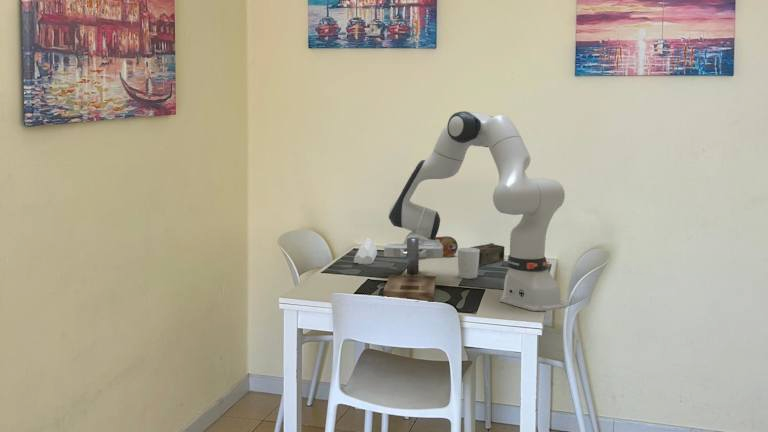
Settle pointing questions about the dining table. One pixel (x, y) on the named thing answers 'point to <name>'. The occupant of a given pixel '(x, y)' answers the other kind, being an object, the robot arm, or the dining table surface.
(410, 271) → the pin
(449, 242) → the tin
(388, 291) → the socket block
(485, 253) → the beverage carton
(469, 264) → the white cup
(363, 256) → the white rounded block
